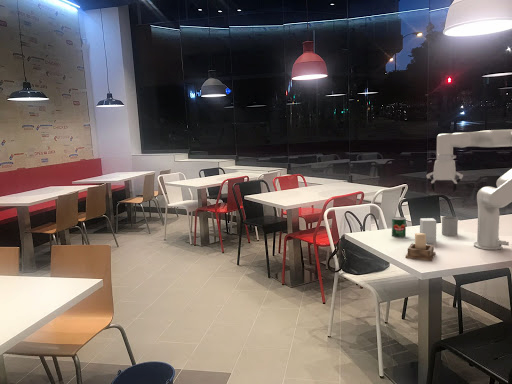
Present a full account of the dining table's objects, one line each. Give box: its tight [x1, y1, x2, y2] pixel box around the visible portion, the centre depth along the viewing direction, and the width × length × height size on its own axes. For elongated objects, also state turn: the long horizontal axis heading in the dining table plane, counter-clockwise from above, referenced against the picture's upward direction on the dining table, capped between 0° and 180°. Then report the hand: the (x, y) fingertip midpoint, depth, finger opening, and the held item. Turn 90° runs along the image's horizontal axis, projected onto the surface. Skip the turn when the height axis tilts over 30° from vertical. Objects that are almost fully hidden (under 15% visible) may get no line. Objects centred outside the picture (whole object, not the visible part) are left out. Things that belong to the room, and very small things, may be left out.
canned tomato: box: [391, 216, 407, 239], centre depth 234 cm, size 8×8×11 cm
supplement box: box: [419, 217, 437, 244], centre depth 220 cm, size 7×7×13 cm
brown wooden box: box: [405, 243, 436, 262], centre depth 196 cm, size 12×12×4 cm
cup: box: [441, 216, 459, 237], centre depth 233 cm, size 8×8×10 cm
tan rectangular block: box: [414, 232, 427, 250], centre depth 196 cm, size 5×5×10 cm
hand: (444, 191), depth 204 cm, fingers open, 9 cm apart
